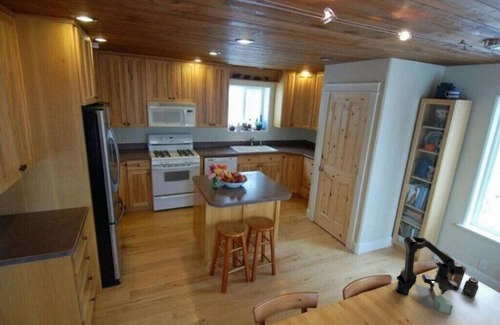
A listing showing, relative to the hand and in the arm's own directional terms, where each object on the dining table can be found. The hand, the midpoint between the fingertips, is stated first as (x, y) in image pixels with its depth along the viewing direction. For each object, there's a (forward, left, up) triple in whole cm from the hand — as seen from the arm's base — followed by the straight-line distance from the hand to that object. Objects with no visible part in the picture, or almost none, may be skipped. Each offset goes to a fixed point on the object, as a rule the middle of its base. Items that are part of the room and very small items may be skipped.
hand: (436, 293), depth 171 cm
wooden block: (+15, +19, -3) cm, 24 cm away
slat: (0, 0, -2) cm, 2 cm away
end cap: (0, -11, -2) cm, 12 cm away
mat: (-3, -4, -2) cm, 6 cm away
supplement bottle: (+22, +11, -3) cm, 25 cm away
